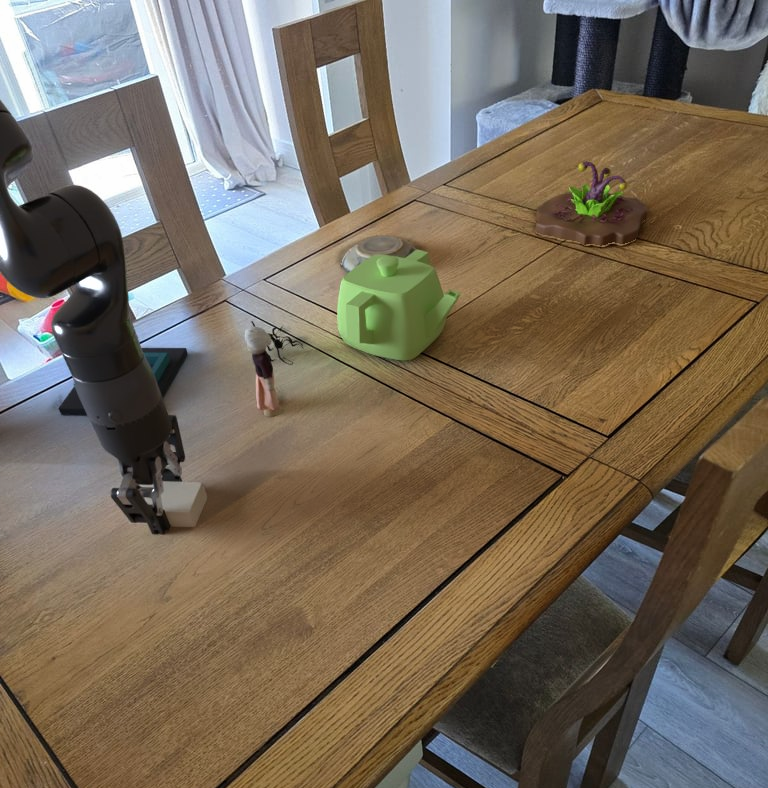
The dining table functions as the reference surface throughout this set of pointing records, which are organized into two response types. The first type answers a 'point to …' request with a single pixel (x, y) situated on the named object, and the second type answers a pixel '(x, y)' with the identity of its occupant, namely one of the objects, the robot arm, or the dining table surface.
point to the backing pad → (162, 365)
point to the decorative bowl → (376, 250)
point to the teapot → (393, 306)
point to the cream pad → (180, 502)
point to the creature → (279, 343)
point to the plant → (592, 213)
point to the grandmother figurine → (263, 371)
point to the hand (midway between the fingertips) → (171, 516)
